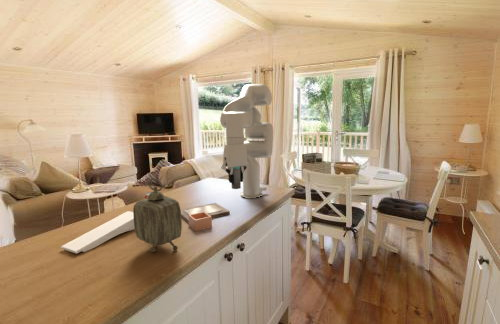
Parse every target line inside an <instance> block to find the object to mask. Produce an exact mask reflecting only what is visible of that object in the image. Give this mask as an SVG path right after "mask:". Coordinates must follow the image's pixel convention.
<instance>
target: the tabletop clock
mask: <svg viewBox="0 0 500 324" xmlns="http://www.w3.org/2000/svg"><path fill="white" fill-rule="evenodd" d="M152 181H156V182H158V184H159V185H160V188H158V186H154V187H152V186H151V182H152ZM147 185H148V188H149V189H151V190H152V191H151V192H152V193H150V195H149V196H148V199H144V198H143V199H141V200H139V201H137V202H135V204H134V205H133V211H132V212H133V214H134V227H135V229H134V232H135V236H136V238H137V239H138V240H140V241H142V242H145V243H147V244H150V245H153V247H151V250H150V251H151V253H155V252H157V248H156V246H164V245H166V244H167V243H169V244H170V245H171V246H172V249H173V251H177V250H178V245H175V244H174V243H173V241H174V240H177V239H178V238H181V235H182V231H183V230H182V229H183V228H182V227H183V226H182V225H183V224H182V223H183V222H182V221H183V220H182V219H183V218H182V217H181V205H180V203H179V201H178V200H176V199H175V198H173V197H169V196H167V195H164V194H163V193H162V189H163V184H162V182H161V180H160V179H158V178H154V177H153V178H152V177H151V178H150V179H149V180H148V184H147Z"/></svg>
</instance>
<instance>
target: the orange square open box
mask: <svg viewBox="0 0 500 324" xmlns="http://www.w3.org/2000/svg"><path fill="white" fill-rule="evenodd" d="M188 216H189V223H188V226H189V227H190V228H191V229H192V230H193V231H195V232H198V231H202V230H206V229H210V228H212V227H213V218H212V217H211V216H210V215H208V214H207V213H206V212H201V213H196V214H191V215H188Z"/></svg>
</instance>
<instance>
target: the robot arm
mask: <svg viewBox="0 0 500 324" xmlns="http://www.w3.org/2000/svg"><path fill="white" fill-rule="evenodd" d="M272 101H273V95H272V91H271V90H270V87H269V86H268V85H266V84H264V83H251V84H249V83H248V84H245V85H243V87H242V88H241V90H240V92H239V94H238V97H237V98H236V99H234V100H232V101H231V102H229V103H227V104H226V105H225V106H224V108H223V109H222V111H221V114H220V117H219V121H220V125H221V127H222V128H224V129H225V132H226V133H225V135H226V137H225V138H226V144H224V147H223V153H222V154H223V155H222V157H223V158H222V164H221V167H220V168H221V169H222V170H223V171H225V173H227V174H228V182H229V184H231V185H232V184H233V183H234V175H233V168H234V167H239V166H240V178H241V183H242V184H243V185H242V192H240V197H241V198H243V197H245V198H244V199H251V198H252V199H257V198H256V197H259V198H261V197H260V196H262V197H263V191H264V192H265V191H267V190H268V188H267V186H266V187H264V186H261V183H260V182H261V178H260V177H261V174H260V173H261V172H260V171H261V169H260V168H261V166H260V163H259V161H258V160H257V158H259V159H260V158H261V159H269V158H271V157H272V154H273V147H274V146H273V145H274V126H273V124H272V123H271V122H269V121H264V122H263V121H262V115H261V112H260V111H259V109H258V108H256V107H259V106H260V107H261V106H262V107H263V106H270V105H271V104H272V103H273V102H272ZM244 129H245V131H244ZM244 136H245V137H244ZM247 139H250V140H247Z"/></svg>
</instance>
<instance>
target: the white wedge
mask: <svg viewBox="0 0 500 324" xmlns="http://www.w3.org/2000/svg"><path fill="white" fill-rule="evenodd" d="M133 230H134V231H135V227H134V214H133V211H129V210H127V211H125V212H123V213H121V214H119V215H118V216H116V217H114V218H112V219H110V220H109V221H108V220H107V221H106V222H104V223H103V224H101V225H98V226H97V227H95V228H93V229H92V230H91V229H90V230H89V231H87V232H86V233H85V232H84V234H81V235H79V236H78V237H76V238H75V239H73V240H70V241H69V242H67V243H64V244H62V245H61V246H60V248H61V249H62V250H63V251H64V250H65V251H67V252H71V253H73V254H76V255H77V254H79V253H81V252H83V253H85V252H88V251H90V250H92V249H94V248H96V247H98V246H99V245H102V244H103V243H105V242H107V241H109V240H110V239H112V238H114V237H116V236H119V235H120V234H123V233H125V232H129V231H133Z"/></svg>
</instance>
